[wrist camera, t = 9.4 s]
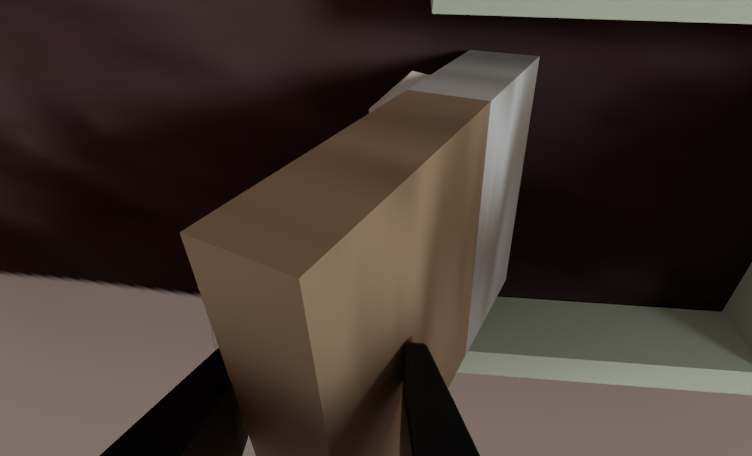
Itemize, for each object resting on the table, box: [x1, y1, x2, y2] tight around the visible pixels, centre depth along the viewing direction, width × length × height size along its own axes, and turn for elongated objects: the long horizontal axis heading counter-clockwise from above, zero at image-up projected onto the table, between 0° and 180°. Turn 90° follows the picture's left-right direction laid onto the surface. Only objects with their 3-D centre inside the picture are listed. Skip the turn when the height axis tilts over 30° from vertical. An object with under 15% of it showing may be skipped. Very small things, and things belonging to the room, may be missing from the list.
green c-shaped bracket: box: [430, 0, 752, 395], centre depth 14 cm, size 13×14×3 cm
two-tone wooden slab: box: [180, 50, 540, 456], centre depth 12 cm, size 8×2×10 cm, turn 2°
